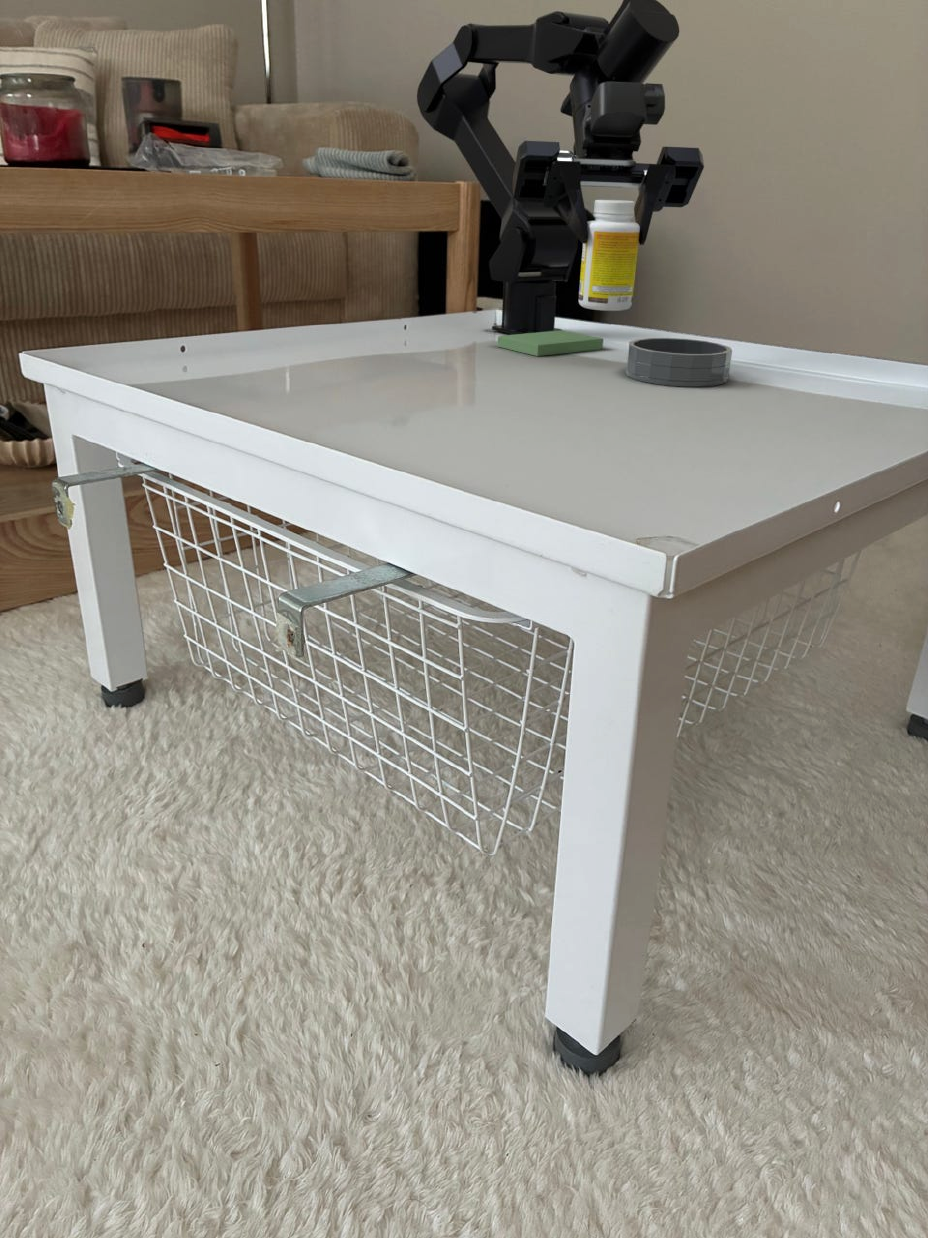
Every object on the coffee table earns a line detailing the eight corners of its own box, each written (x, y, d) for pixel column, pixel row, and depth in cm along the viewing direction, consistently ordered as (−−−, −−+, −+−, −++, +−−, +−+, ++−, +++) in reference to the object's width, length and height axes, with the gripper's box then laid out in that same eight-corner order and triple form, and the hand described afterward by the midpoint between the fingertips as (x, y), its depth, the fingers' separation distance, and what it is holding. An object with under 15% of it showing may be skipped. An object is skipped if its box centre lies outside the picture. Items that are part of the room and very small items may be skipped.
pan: (605, 372, 96) (608, 342, 95) (671, 364, 102) (675, 335, 101) (681, 390, 89) (685, 358, 88) (747, 380, 95) (752, 349, 93)
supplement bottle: (642, 310, 98) (654, 202, 93) (598, 312, 95) (609, 201, 91) (610, 303, 102) (620, 199, 97) (567, 304, 99) (575, 198, 95)
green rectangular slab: (497, 346, 109) (497, 335, 108) (561, 340, 114) (562, 329, 114) (537, 356, 104) (538, 344, 103) (602, 349, 109) (603, 338, 109)
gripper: (524, 46, 91) (534, 175, 86) (712, 55, 93) (733, 183, 88) (508, 139, 101) (516, 259, 96) (677, 146, 103) (695, 264, 98)
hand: (614, 241), depth 94 cm, fingers closed on supplement bottle, 5 cm apart
